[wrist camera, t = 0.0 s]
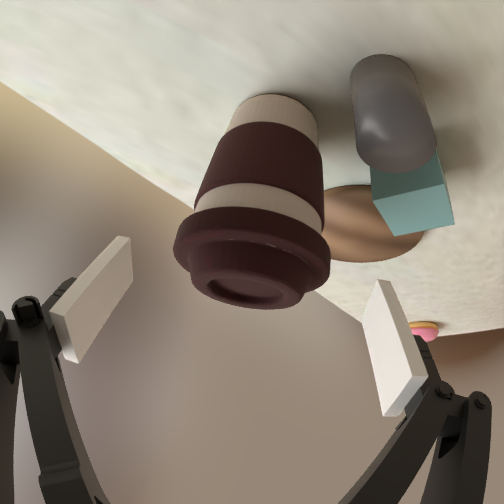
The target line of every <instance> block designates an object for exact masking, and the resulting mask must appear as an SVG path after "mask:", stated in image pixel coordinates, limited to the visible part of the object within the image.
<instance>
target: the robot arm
mask: <svg viewBox="0 0 504 504" xmlns="http://www.w3.org/2000/svg"><path fill="white" fill-rule="evenodd" d="M132 281H133V272H132V258H131V240H130V238H128V237H121V236H117V237H116V238H115V239H114V240H113V241H112V242H111V243H110V244H109V245H108V247H106V249H105V250H104V251H103V252H102V253H101V254H100V255H99V256H98V257H97V258H96V259H95V260H94V261H93V262H92V263H91V264H90V265H89V266H88V268H87V269H86V270H85V271H84V272H83V273H82V274H81V275H80V276H79V277H78V278H73V277H72V278H70V279H68V280H66V281H64V282H63V283H62V284H61V285H60V286H59V287H58V289H57V290H56V291H55V292H54V293H53V295H51V296H50V297H49V298H48V299H47V301H46V302H45V303H44V304H43V305H42V306H40V303H39V301H38V299H37V298H35V297H33V296H25V297H22V298H19V299H18V300H16V301H15V302H14V304H13V305H12V312H13V315H14V317H15V320H8V319H6V318H5V315H4V313H3V312H2V311H0V504H14V478H13V450H14V428H15V427H14V426H15V414H16V403H17V394H18V386H19V379H20V372H21V377H22V384H23V392H24V398H25V404H26V410H27V416H28V421H29V426H30V430H31V435H32V439H33V444H34V448H35V452H36V455H37V459H38V463H39V466H40V470H41V474H40V475H39V484H40V488H41V491H42V494H43V497H44V500H45V503H46V504H110V502H109V501H108V499H107V498H106V496H105V494H104V492H103V490H102V488H101V486H100V484H99V482H98V479H97V477H96V475H95V472H94V470H93V467H92V465H91V463H90V460H89V457H88V455H87V452H86V449H85V447H84V444H83V441H82V438H81V436H80V433H79V430H78V427H77V424H76V420H75V417H74V414H73V411H72V407H71V404H70V401H69V397H68V393H67V390H66V386H65V382H64V378H63V374H62V370H61V366H60V361H59V358H58V354H59V353H60V351H61V350H62V352H63V355H64V358H65V359H67V360H70V361H73V362H75V363H80V361H81V359H82V358H83V356H84V355H85V353H86V351H87V350H88V348H89V347H90V345H91V343H92V342H93V340H94V338H95V337H96V335H97V334H98V332H99V331H100V329H101V327H102V326H103V325H104V323H105V322H106V320H107V319H108V317H109V316H110V314H111V313H112V311H113V309H114V308H115V307H116V305H117V303H118V302H119V301H120V299H121V298H122V296H123V295H124V293H125V292H126V290H127V289H128V287H129V286H130V285H131V283H132ZM361 321H362V325H363V329H364V333H365V336H366V340H367V345H368V349H369V353H370V357H371V361H372V366H373V370H374V375H375V380H376V384H377V389H378V394H379V399H380V404H381V409H382V414H383V416H399V414H400V413H401V412H402V411H403V410H404V409H405V413H406V417H405V418H404V419H403V420H402V421H401V422H400V424H399V425H398V426H397V427H396V431H395V432H394V434H393V435H392V436H391V438H390V439H389V441H388V442H387V444H386V445H385V446H384V448H383V449H382V450H381V452H380V453H379V454H378V456H377V457H376V458H375V460H374V461H373V462H372V464H371V465H370V466H369V467H368V469H367V470H366V471H365V472H364V474H363V475H362V476H361V477H360V479H359V480H358V481H357V482H356V483H355V485H354V486H353V487H352V488H351V489H350V490H349V492H348V493H347V494H346V495H345V496H344V497H343V499H342V500H341V501H340V502H339V503H338V504H398V502H399V501H400V499H401V498H402V496H403V495H404V493H405V492H406V490H407V489H408V487H409V485H410V484H411V482H412V481H413V479H414V478H415V476H416V474H417V472H418V471H419V469H420V467H421V466H422V464H423V462H424V460H425V459H426V457H427V455H428V453H429V451H430V449H431V448H432V446H433V444H434V442H435V440H436V438H437V442H436V447H435V452H434V456H433V460H432V464H431V468H430V472H429V476H428V479H427V483H426V486H425V490H424V493H423V496H422V500H421V503H420V504H483V499H484V492H485V487H486V480H487V472H488V462H489V452H490V440H491V417H492V415H491V414H492V406H491V401H490V400H489V398H488V397H487V396H486V395H485V394H483V393H482V392H478V391H475V392H473V393H472V394H471V395H470V396H469V397H468V398H467V397H463V396H460V395H456V394H455V392H454V390H453V388H452V387H451V386H450V385H449V384H448V383H446V382H444V381H441V378H440V376H439V373H438V370H437V368H436V365H435V363H434V360H433V359H432V355H431V353H430V350H429V348H428V345H427V343H426V342H425V341H424V339H423V338H422V337H421V336H420V335H413V334H412V331H411V329H410V326H409V324H408V321H407V319H406V317H405V314H404V312H403V309H402V307H401V305H400V302H399V300H398V298H397V296H396V293H395V291H394V289H393V287H392V284H391V282H390V281H386V280H380V279H377V281H376V284H375V286H374V289H373V291H372V294H371V296H370V299H369V301H368V304H367V306H366V309H365V311H364V313H363V316H362V318H361ZM437 436H438V437H437Z"/></svg>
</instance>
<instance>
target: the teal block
mask: <svg viewBox="0 0 504 504" xmlns="http://www.w3.org/2000/svg"><path fill="white" fill-rule="evenodd" d="M370 175H371V188H372V201H373V203H374V204H375V206H376V207H377V209H378V211H379V212H380V214H381V215H382V217H383V219H384V220H385V222H386V224H387V225H388V227H389V228H390V230H391V232H392V233H393V235H394V236H399V235H404V234H409V233H414V232H419V231H424V230H429V229H434V228H439V227H444V226H449V225H454V224H455V223H454V218H453V212H452V207H451V202H450V197H449V193H448V188H447V184H446V180H445V176H444V172H443V168H442V165H441V162H440V159H439V156H438V153H437V150H435V153H434V155H433V156H432V158H431V159H430V160H429V161H428V162H427V163H426V164H425V165H423V166H422V167H420V168H418V169H416V170H413V171H409V172H404V173H387V172H382V171H379V170H376V169H374V168H372V167H370Z"/></svg>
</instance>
